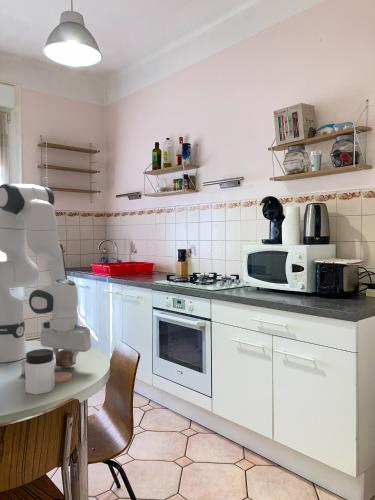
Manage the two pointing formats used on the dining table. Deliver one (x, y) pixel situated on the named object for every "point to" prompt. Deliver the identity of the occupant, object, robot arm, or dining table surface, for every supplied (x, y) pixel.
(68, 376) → the pink glossy round part
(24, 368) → the tin
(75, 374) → the dining table surface
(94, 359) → the dining table surface
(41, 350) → the jar
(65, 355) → the walnut block
